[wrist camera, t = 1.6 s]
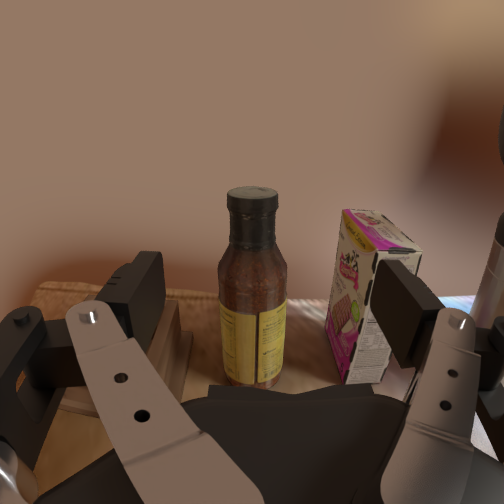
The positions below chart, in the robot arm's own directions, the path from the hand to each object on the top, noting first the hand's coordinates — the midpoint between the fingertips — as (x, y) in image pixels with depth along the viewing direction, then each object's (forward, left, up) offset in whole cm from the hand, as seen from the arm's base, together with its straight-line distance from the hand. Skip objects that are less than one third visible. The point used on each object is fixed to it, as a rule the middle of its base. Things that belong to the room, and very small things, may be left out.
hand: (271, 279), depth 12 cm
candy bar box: (-12, -18, -20) cm, 30 cm away
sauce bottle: (0, -15, -20) cm, 25 cm away
